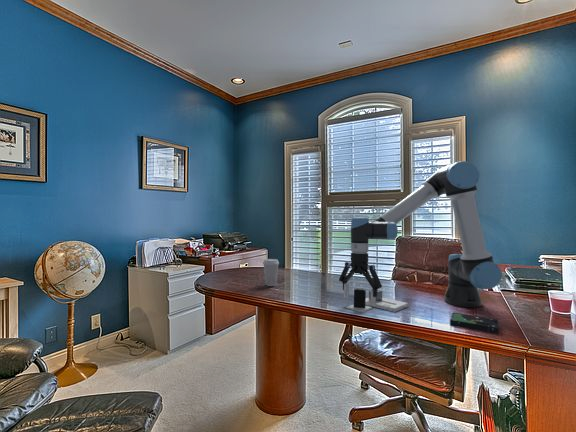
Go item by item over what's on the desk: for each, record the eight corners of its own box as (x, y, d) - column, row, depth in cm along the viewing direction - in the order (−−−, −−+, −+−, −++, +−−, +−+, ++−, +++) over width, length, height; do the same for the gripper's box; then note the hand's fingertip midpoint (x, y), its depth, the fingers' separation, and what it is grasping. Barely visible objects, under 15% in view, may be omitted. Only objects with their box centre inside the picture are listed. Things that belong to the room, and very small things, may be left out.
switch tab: (382, 299, 137) (382, 290, 138) (376, 301, 134) (376, 292, 134) (374, 297, 140) (374, 289, 140) (368, 299, 137) (369, 291, 137)
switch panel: (407, 306, 132) (407, 302, 132) (395, 312, 124) (395, 308, 124) (373, 298, 145) (373, 295, 145) (360, 303, 136) (360, 300, 136)
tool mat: (372, 308, 128) (372, 307, 128) (362, 312, 123) (362, 311, 123) (356, 304, 134) (356, 303, 134) (346, 308, 129) (346, 306, 129)
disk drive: (497, 326, 109) (452, 318, 118) (497, 319, 109) (452, 311, 118) (499, 336, 101) (449, 326, 109) (499, 328, 101) (450, 319, 109)
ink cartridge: (365, 306, 129) (365, 288, 129) (365, 308, 127) (365, 290, 127) (353, 305, 130) (354, 287, 130) (353, 307, 128) (354, 289, 128)
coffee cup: (264, 283, 176) (264, 258, 176) (280, 284, 175) (280, 258, 175) (261, 287, 167) (261, 260, 167) (277, 287, 165) (277, 261, 166)
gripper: (331, 250, 135) (331, 296, 135) (381, 256, 117) (381, 309, 117) (341, 249, 140) (341, 293, 140) (390, 254, 122) (390, 305, 122)
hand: (359, 300), depth 129 cm, fingers open, 13 cm apart
